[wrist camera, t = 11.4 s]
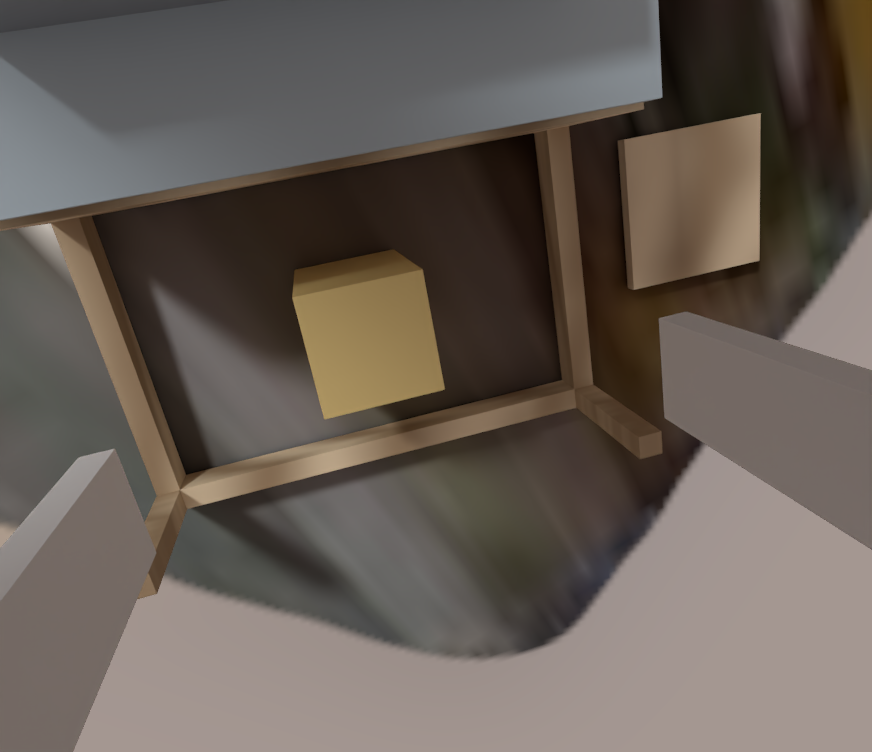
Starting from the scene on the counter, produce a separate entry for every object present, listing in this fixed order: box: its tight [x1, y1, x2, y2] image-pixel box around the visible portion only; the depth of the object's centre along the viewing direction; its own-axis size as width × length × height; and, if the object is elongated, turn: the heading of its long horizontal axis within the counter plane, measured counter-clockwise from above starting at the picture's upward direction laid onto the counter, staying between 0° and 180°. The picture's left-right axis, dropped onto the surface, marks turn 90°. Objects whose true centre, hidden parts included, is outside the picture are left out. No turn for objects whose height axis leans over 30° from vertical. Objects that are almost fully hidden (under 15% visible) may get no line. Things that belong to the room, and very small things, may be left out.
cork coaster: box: [618, 113, 761, 290], centre depth 29 cm, size 7×7×1 cm
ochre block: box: [292, 249, 445, 419], centre depth 24 cm, size 4×4×7 cm
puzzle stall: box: [0, 102, 663, 599], centre depth 21 cm, size 21×28×8 cm
